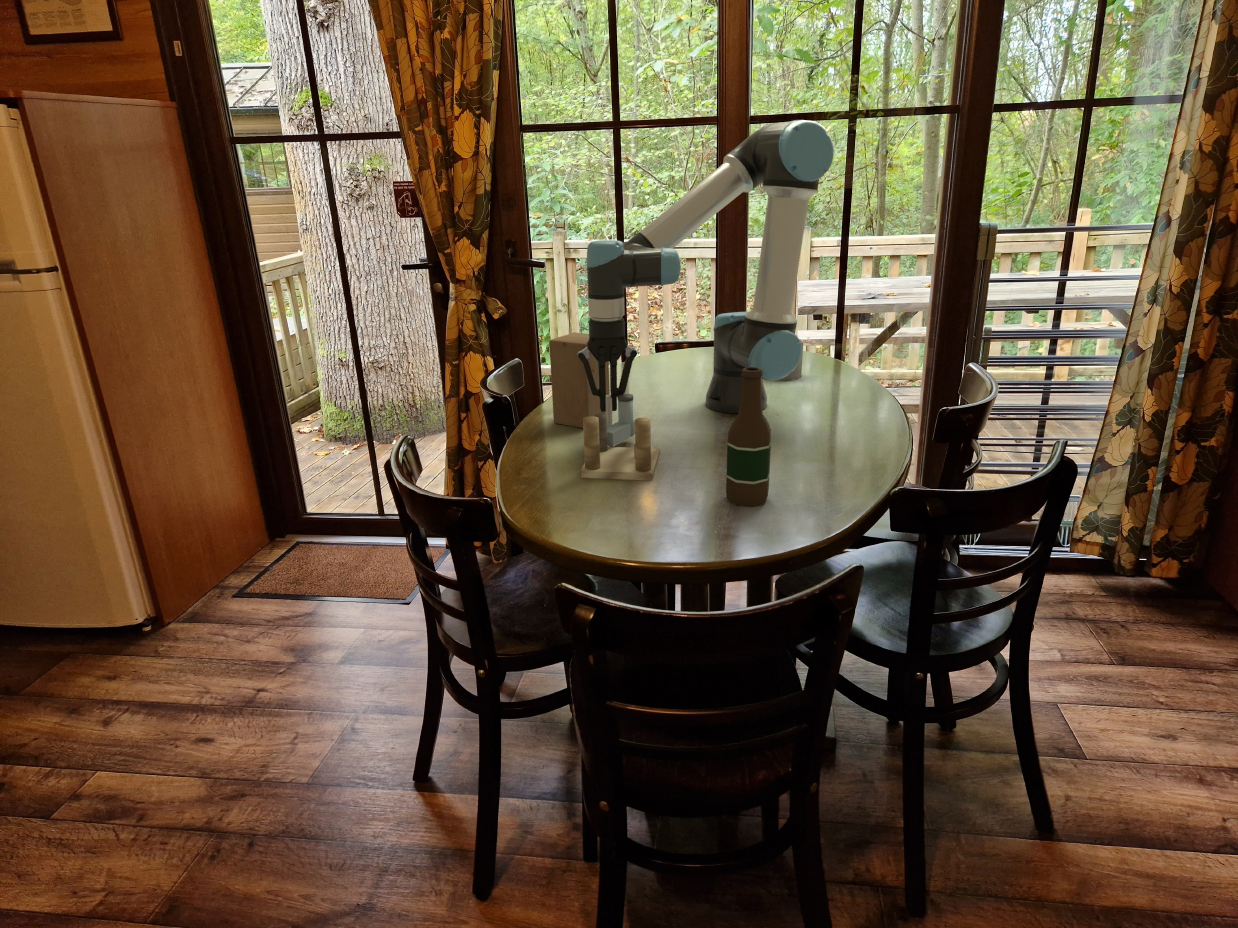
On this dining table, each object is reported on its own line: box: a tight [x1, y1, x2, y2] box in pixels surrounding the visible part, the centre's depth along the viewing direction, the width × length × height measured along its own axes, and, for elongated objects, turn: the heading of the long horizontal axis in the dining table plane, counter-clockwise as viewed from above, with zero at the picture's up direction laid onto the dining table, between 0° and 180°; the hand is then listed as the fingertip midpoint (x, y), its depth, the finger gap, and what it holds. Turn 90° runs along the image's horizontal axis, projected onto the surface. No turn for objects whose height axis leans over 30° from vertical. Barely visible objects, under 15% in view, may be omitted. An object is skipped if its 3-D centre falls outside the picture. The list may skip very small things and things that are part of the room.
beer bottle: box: [725, 367, 772, 508], centre depth 137 cm, size 8×8×24 cm
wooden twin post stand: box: [580, 414, 661, 481], centre depth 156 cm, size 14×14×12 cm
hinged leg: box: [607, 393, 635, 447], centre depth 167 cm, size 3×10×9 cm, turn 149°
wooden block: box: [548, 331, 611, 429], centre depth 184 cm, size 10×10×20 cm
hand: (608, 425), depth 172 cm, fingers closed
